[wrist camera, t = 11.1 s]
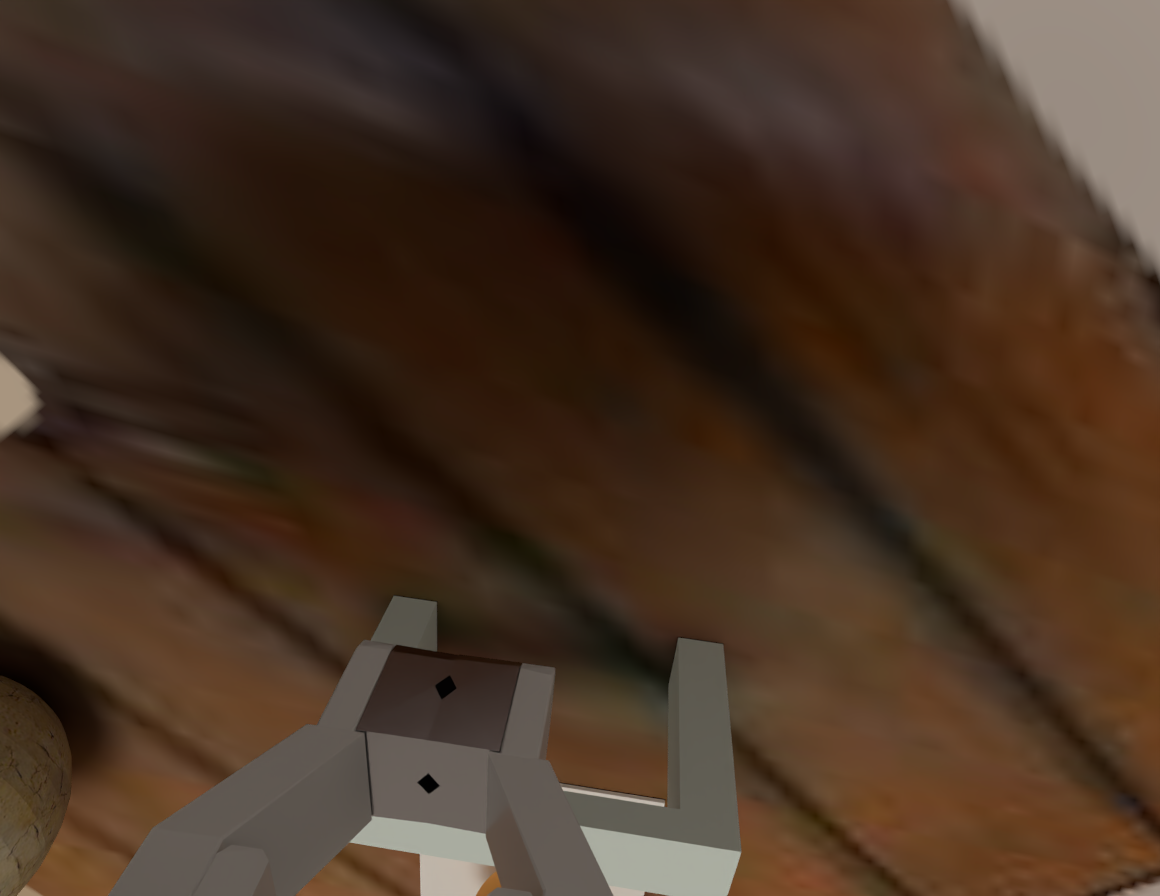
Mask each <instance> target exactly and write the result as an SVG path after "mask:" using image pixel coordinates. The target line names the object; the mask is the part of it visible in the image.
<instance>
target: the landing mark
mask: <svg viewBox="0 0 1160 896" xmlns="http://www.w3.org/2000/svg"><path fill="white" fill-rule="evenodd" d="M560 785H561V787H562V789H563V791H568V792H575V793H581V794H587V795H594V796H600V797H606V798H612V799H619V800H625V801H631V802H637V803H644V804H650V805H656V806H662V807H664V804H665V800H662V799H656V798H650V797H643V796H637V795H631V794H624V793H618V792H612V791H606V790H599V789H593V788H587V787H581V786H574V785H568V784H562V783H560ZM494 872H496V868H495V866H489V865H483V864H477V863H471V862H465V861H459V860H453V859H447V858H441V857H435V856H429V855H423V854H420V882H421V896H476V894H477V892H478V891H479V889H480V888H481V886H482V885H483V884H484V882H485V881H486V880H487V879H488V878H489V877H490V876H491V875H492V874H493V873H494ZM609 887H610V889H611V891H612V894H613V896H644V892H645V891H639V890H633V889H627V888H621V887H615V886H609Z"/></svg>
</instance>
